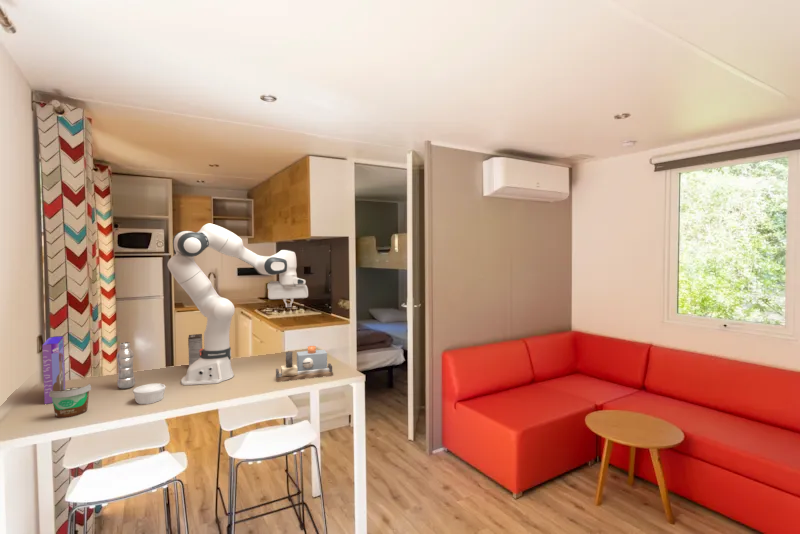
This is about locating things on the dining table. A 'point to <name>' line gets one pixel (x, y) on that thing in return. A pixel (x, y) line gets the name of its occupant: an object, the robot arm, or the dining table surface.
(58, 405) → the food container
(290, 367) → the carriage
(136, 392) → the ramekin
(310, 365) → the gauge cabinet
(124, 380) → the plastic bottle
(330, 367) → the rail
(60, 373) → the cereal box
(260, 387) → the dining table surface
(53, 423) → the dining table surface
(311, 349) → the button
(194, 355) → the coffee box
